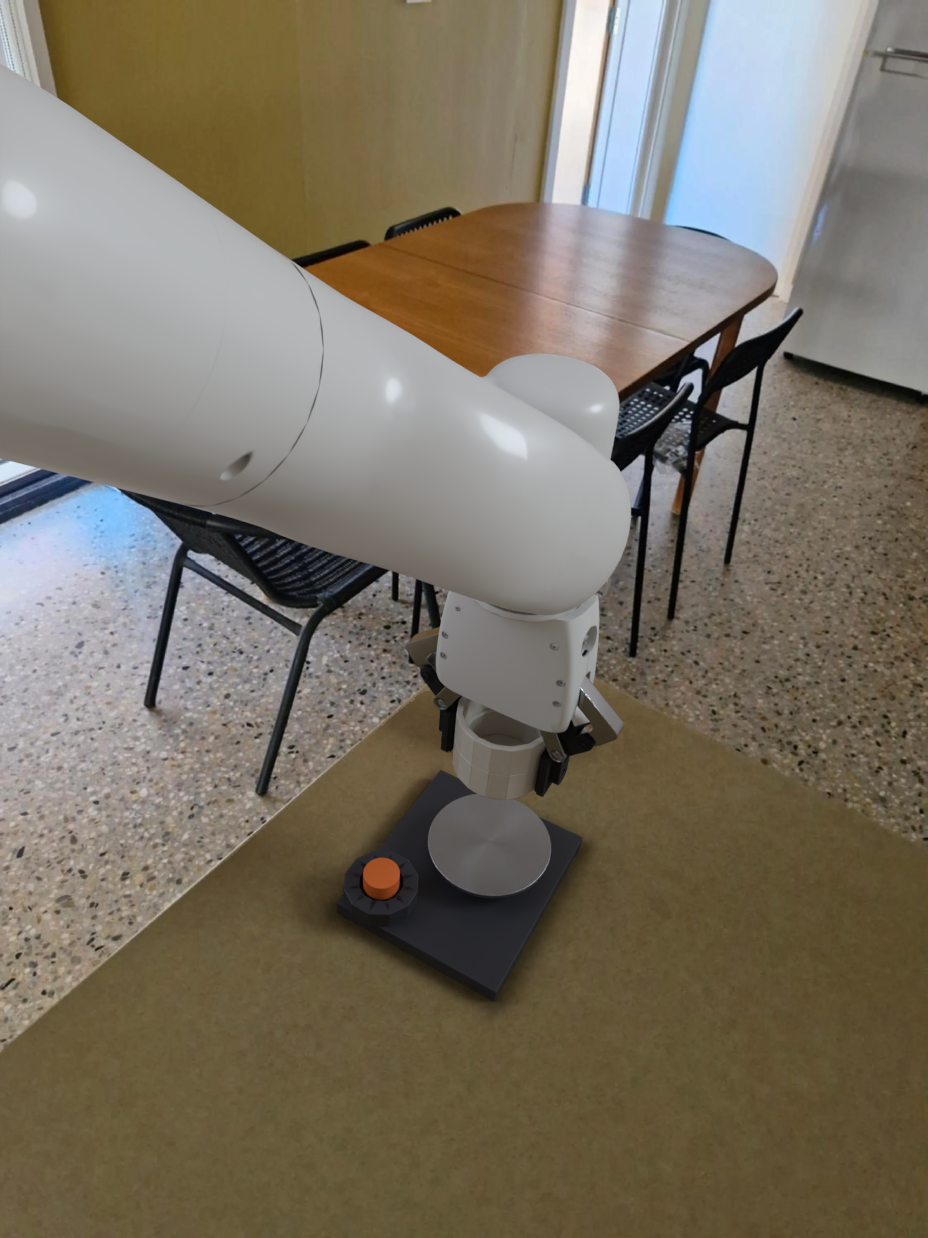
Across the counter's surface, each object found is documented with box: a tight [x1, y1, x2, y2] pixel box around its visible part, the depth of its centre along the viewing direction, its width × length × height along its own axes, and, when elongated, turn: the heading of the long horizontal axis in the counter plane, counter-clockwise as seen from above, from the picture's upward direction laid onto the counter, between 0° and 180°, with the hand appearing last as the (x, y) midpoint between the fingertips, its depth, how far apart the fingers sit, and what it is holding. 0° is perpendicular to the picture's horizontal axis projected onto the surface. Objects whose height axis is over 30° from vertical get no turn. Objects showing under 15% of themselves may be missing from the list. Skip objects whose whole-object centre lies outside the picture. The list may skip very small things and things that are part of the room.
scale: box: [336, 769, 584, 1002], centre depth 72 cm, size 16×14×3 cm
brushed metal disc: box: [428, 794, 551, 898], centre depth 72 cm, size 10×10×1 cm
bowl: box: [451, 696, 546, 800], centre depth 64 cm, size 7×7×6 cm
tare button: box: [363, 858, 400, 900], centre depth 68 cm, size 3×3×2 cm
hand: (500, 759), depth 65 cm, fingers closed on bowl, 7 cm apart
